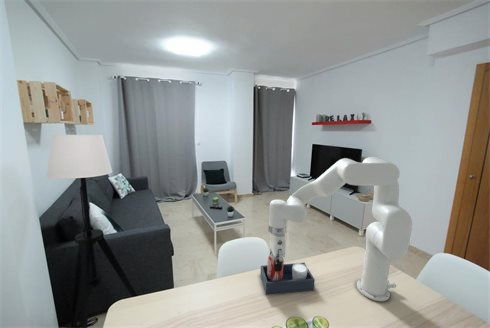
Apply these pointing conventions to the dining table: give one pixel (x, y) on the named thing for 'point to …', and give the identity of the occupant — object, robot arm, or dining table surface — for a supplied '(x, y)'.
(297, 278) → the white cylinder
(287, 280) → the bin
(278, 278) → the soda can
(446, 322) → the dining table surface
